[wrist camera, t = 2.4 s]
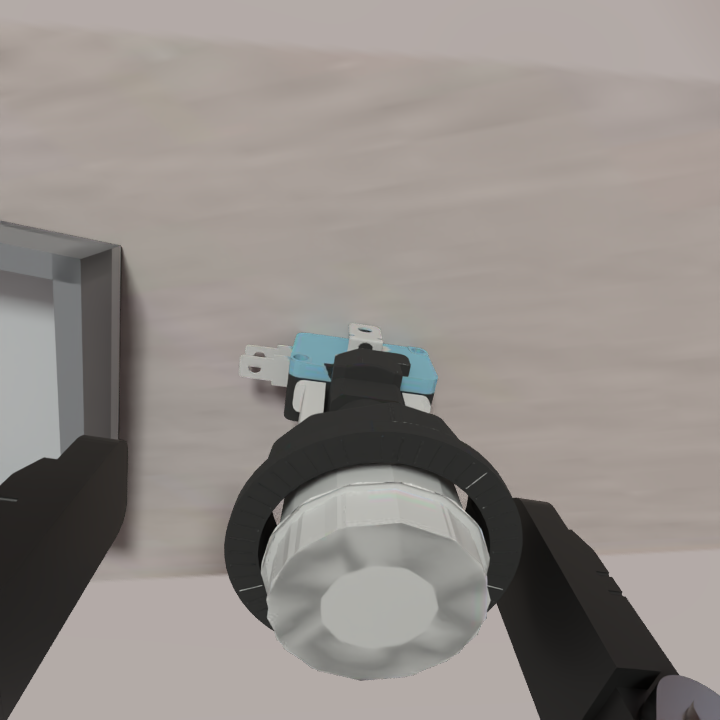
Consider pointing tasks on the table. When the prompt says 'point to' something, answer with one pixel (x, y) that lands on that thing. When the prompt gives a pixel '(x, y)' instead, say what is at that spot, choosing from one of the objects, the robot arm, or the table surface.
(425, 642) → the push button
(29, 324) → the tray
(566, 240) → the table surface
